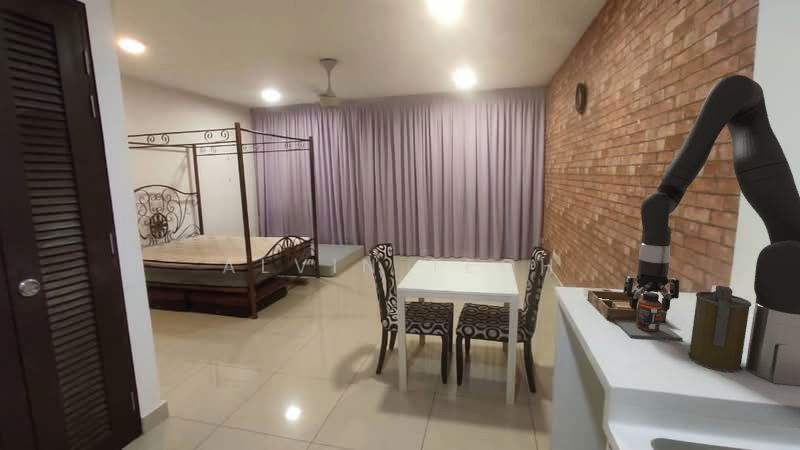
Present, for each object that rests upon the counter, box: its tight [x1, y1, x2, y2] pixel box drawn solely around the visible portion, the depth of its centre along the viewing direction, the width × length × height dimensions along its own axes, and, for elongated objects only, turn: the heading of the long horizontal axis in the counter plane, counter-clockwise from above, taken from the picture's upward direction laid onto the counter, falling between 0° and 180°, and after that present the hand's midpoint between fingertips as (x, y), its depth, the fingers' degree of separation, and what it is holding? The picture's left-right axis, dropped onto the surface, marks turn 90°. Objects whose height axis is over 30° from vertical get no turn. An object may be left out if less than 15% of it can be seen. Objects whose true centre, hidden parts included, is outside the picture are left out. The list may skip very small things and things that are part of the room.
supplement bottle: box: [636, 291, 662, 332], centre depth 108 cm, size 6×6×11 cm
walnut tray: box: [587, 290, 668, 325], centre depth 124 cm, size 18×18×4 cm
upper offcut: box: [612, 302, 638, 309], centre depth 119 cm, size 5×10×2 cm, turn 77°
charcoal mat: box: [614, 320, 683, 342], centre depth 109 cm, size 11×14×1 cm
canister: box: [687, 285, 752, 373], centre depth 90 cm, size 11×10×20 cm
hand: (648, 310), depth 108 cm, fingers open, 8 cm apart
